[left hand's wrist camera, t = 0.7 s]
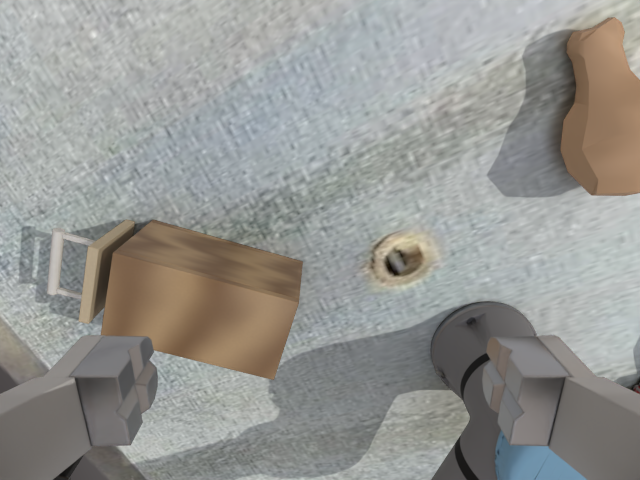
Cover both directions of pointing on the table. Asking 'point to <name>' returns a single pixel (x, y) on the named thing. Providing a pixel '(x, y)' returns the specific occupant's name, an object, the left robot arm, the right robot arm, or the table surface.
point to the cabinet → (203, 298)
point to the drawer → (88, 267)
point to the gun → (637, 388)
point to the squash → (603, 114)
